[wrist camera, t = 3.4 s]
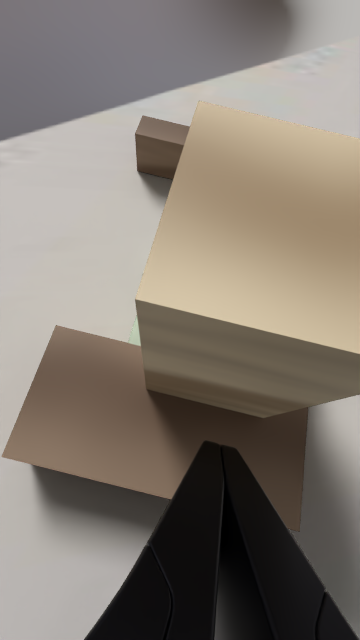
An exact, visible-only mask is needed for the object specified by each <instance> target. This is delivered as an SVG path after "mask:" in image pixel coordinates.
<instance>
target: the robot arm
mask: <svg viewBox="0 0 360 640" xmlns="http://www.w3.org/2000/svg"><path fill="white" fill-rule="evenodd" d="M325 590H326V589H325V586H324V585H323V583H322V581H321V580H320V578H319V577H318V575H317V574H316V572H315V570H314V569H313V567H312V566H311V564H310V563H309V561H308V559H307V558H306V556H305V555H304V553H303V552H302V550H301V548H300V547H299V545H298V544H297V542H296V541H295V539H294V537H293V536H292V534H291V533H290V531H289V530H288V528H287V526H286V525H285V523H284V522H283V520H282V519H281V517H280V515H279V514H278V512H277V511H276V509H275V508H274V506H273V504H272V503H271V501H270V500H269V498H268V497H267V495H266V493H265V492H264V490H263V489H262V487H261V486H260V484H259V482H258V481H257V479H256V478H255V476H254V475H253V473H252V471H251V470H250V468H249V467H248V465H247V464H246V462H245V460H244V459H243V457H242V456H241V454H240V453H239V451H238V450H237V449H236V448H235V447H231V446H227V445H223V444H222V445H219V444H218V443H216V442H212V441H208V440H205V441H203V443H202V445H201V446H200V448H199V450H198V452H197V454H196V455H195V457H194V459H193V461H192V463H191V464H190V466H189V468H188V470H187V472H186V473H185V475H184V477H183V479H182V481H181V482H180V484H179V486H178V488H177V490H176V491H175V493H174V495H173V497H172V499H171V500H170V502H169V504H168V506H167V508H166V509H165V511H164V513H163V515H162V517H161V518H160V520H159V522H158V524H157V526H156V527H155V529H154V531H153V533H152V535H151V536H150V538H149V540H148V542H147V545H146V546H145V547H144V549H143V550H142V552H141V554H140V556H139V558H138V559H137V561H136V563H135V565H134V566H133V568H132V570H131V571H130V573H129V575H128V576H127V578H126V580H125V581H124V583H123V585H122V586H121V588H120V589H119V591H118V592H117V594H116V595H115V597H114V598H113V600H112V601H111V603H110V604H109V605H108V607H107V608H106V610H105V611H104V613H103V614H102V616H101V617H100V618H99V620H98V621H97V623H96V624H95V625H94V627H93V628H92V629H91V631H90V632H89V633H88V635H87V636H86V638H85V639H84V640H359V638H358V637H357V635H356V634H355V632H354V631H353V629H352V628H351V626H350V625H349V623H348V622H347V620H346V619H345V617H344V616H343V614H342V613H341V611H340V609H339V608H338V606H337V605H336V603H335V602H334V600H333V598H332V597H331V595H330V594H329V593H328V592H325Z"/></svg>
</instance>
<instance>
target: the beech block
mask: <svg viewBox="0 0 360 640" xmlns="http://www.w3.org/2000/svg"><path fill="white" fill-rule="evenodd" d="M135 302H136V310H137V319H138V327H139V335H140V343H141V351H142V359H143V367H144V375H145V383H146V389H148V390H152V391H156V392H160V393H164V394H168V395H172V396H176V397H180V398H184V399H188V400H192V401H196V402H200V403H204V404H208V405H212V406H216V407H220V408H225V409H229V410H233V411H237V412H241V413H245V414H249V415H253V416H257V417H261V418H266V417H270V416H274V415H278V414H282V413H286V412H290V411H294V410H298V409H302V408H306V407H310V406H315V405H319V404H323V403H327V402H331V401H335V400H339V399H343V398H347V397H351V396H355V395H359V394H360V139H359V138H355V137H350V136H346V135H342V134H338V133H333V132H329V131H325V130H321V129H317V128H312V127H308V126H304V125H300V124H295V123H291V122H287V121H283V120H278V119H274V118H270V117H266V116H261V115H257V114H253V113H249V112H245V111H240V110H236V109H232V108H228V107H223V106H219V105H215V104H211V103H206V102H202V101H198V103H197V107H196V110H195V113H194V116H193V119H192V122H191V125H190V129H189V132H188V135H187V138H186V141H185V144H184V147H183V151H182V154H181V157H180V160H179V163H178V166H177V169H176V172H175V176H174V179H173V182H172V185H171V188H170V191H169V194H168V198H167V201H166V204H165V207H164V210H163V213H162V216H161V219H160V223H159V226H158V229H157V232H156V235H155V238H154V241H153V245H152V248H151V251H150V254H149V257H148V260H147V263H146V266H145V270H144V273H143V276H142V279H141V282H140V285H139V288H138V292H137V295H136V298H135Z"/></svg>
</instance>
